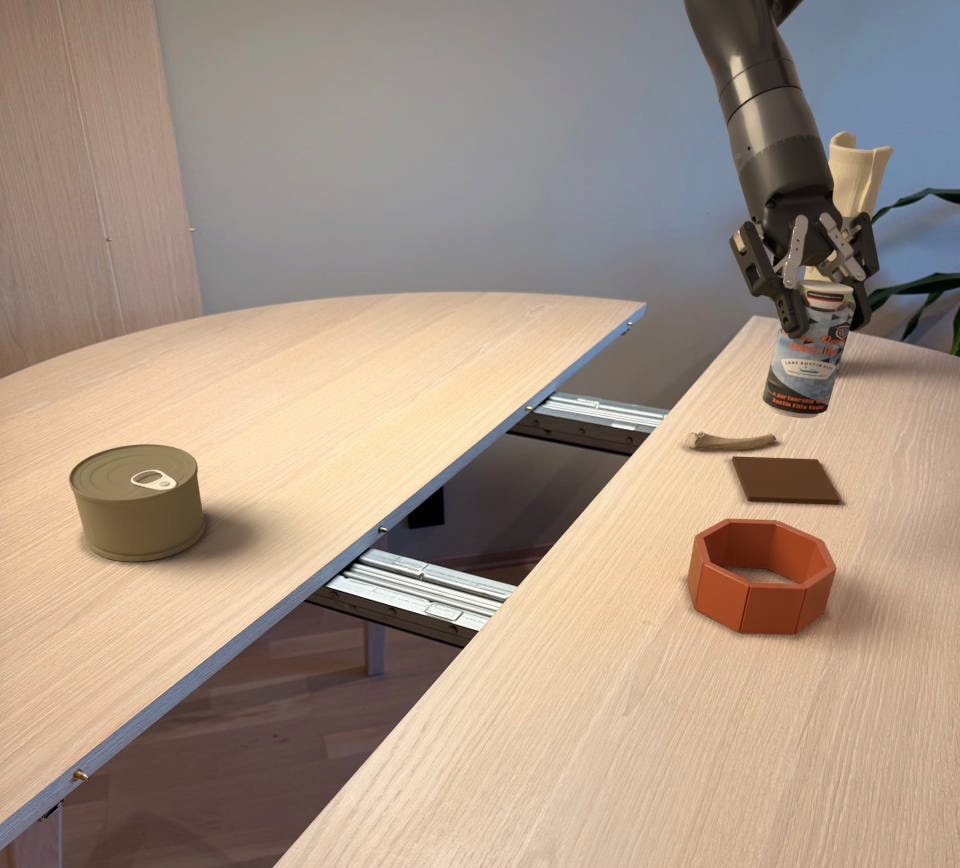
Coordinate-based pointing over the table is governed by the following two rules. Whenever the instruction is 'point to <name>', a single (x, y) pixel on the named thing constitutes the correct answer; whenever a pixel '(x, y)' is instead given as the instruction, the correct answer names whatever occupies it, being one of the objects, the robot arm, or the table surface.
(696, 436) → the bone
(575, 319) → the table surface
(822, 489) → the coaster
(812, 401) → the beverage can
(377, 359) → the table surface
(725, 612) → the octagonal ring
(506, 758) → the table surface
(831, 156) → the pillar candle
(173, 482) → the can
